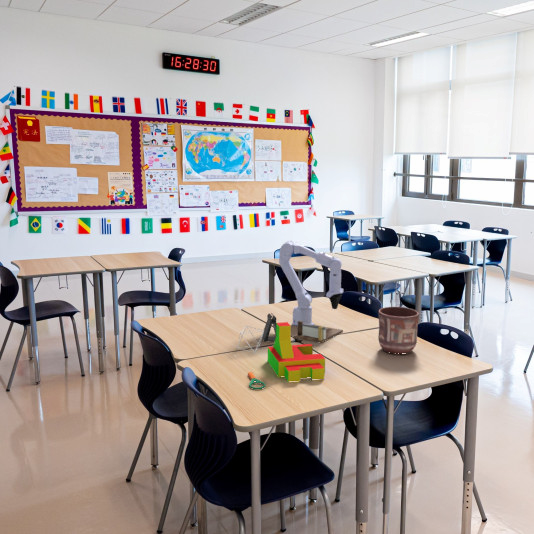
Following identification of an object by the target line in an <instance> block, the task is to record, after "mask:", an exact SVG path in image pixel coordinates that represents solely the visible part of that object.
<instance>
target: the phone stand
mask: <svg viewBox="0 0 534 534" xmlns="http://www.w3.org/2000/svg"><path fill="white" fill-rule="evenodd" d="M276 323H277V317H276V316H275V315H274V313H272V312H271V313H268V314H267V319H266V322H265V325H264V328H263V330H264V333H263V332H262V333H263V336H262V337H261V336H260V338H262V341H263V342H265V343H266V341H270V342H275V339H276ZM272 327H273V331H274V334H275V336H270V334H271V330H272Z"/></svg>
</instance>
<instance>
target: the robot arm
mask: <svg viewBox="0 0 534 534" xmlns="http://www.w3.org/2000/svg"><path fill="white" fill-rule="evenodd" d="M278 251H279V258H278V263H279V266H280V267H281V269H282V271H283V273H284V274H285V277H286V278H287V280H288V282H289V284H290V287H291V288H292V290H293V292H294V294H295V298H296V300H297V306H295V307H294V308H293V309H292V323H291V325H292V326H297V327H298V321H303V324H304V323H306V324H311V325H315V324H316V323H315V322H313V321H312V319H313V316H312V315H313V311H312V310H313V307H312V305H311V304H312V302H313V297H312V296H311V295H310V294H309V293H308V291H307V290H306V289H305V288H304V286H303V284H302V283H301V281H300V278H299V276H298V275H297V273H296V271H295V269H294V268H293V265H292V264H291V258H292V255H293V254H294V255H295V254H296V255H297V254H301V255H304V256H307V257H310V258H311V259H312V258H313V260H315V263H317V264H319V265H321V266H325V267H326V268H329V269H330V270H329V271H330V273H329V284H328V285H329V290H328V291H327V292H326V294H325V296H326V298H328V299H329V302H330V305H331V308H332V310H337V309H338V306H339V303H340V300H341V299H342V296H343V295H342V294H343V293H344V288H342V284H341V283H342V265H343V263H342V260H341V259H340V258H338V257H335V256H333V255H332V256H331V255H330V254H327V252H325V251H319V252H316V251H314V250H312V249H310V248H308V247H306V246H305V245H302V244H300V243H297V242H294V241H292V240H287V241H286V242H284V243H283V244H282V245H281V247H280V249H279V250H278Z"/></svg>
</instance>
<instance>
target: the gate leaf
mask: <svg viewBox="0 0 534 534" xmlns="http://www.w3.org/2000/svg"><path fill="white" fill-rule="evenodd" d="M316 325H317V324H316ZM316 325H315V324H314V325H311V324H306V323H304V324H302V326H303V331H302V335H305V336H310V337H315V338H318V327H319V326H321V327H322V325H318V326H316ZM326 327H327V326H324V327H323V335H322V339H326Z"/></svg>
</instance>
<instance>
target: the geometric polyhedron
mask: <svg viewBox="0 0 534 534" xmlns="http://www.w3.org/2000/svg"><path fill="white" fill-rule="evenodd" d="M246 328H247V331H245V330H246ZM249 328H250V329H255V330H253V331H252V330H250V329H249ZM259 331H261V332H262V334H261V336H260V338H259V340H258V341H257V339H256V337H255V336H254V334H253V333H254V332H255V333H256V332H257V333H258V332H259ZM248 332H249V333H250V334H251V336H253V339H255V341H256V343H257V344H256V345H255V350H253V348H252V345H250V343H249V342H248V341H247V339H246V338H245V337H244V334H245V333H248ZM263 333H264V329H260V328H256V327H252V326H248V325H246V326H244V328H243V329H242V330H241V331H240V333H239V337H238V341H237V346H236V348H237V349H238V350H239V349H240V350H243V351H245V352H246V351H247V352H250V353H253V354H255V353H256V352H257V350H258V349H259V348H260V347H261V343H262V341H263V339H262V338H261V337H262V336H263ZM242 338H243V339H244V340H245V342H246V343H247V345H248V346H245V348H250V350H252V351H250V350H247V349H243V348H242V346H239V345H240V343H241V340H242Z"/></svg>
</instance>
